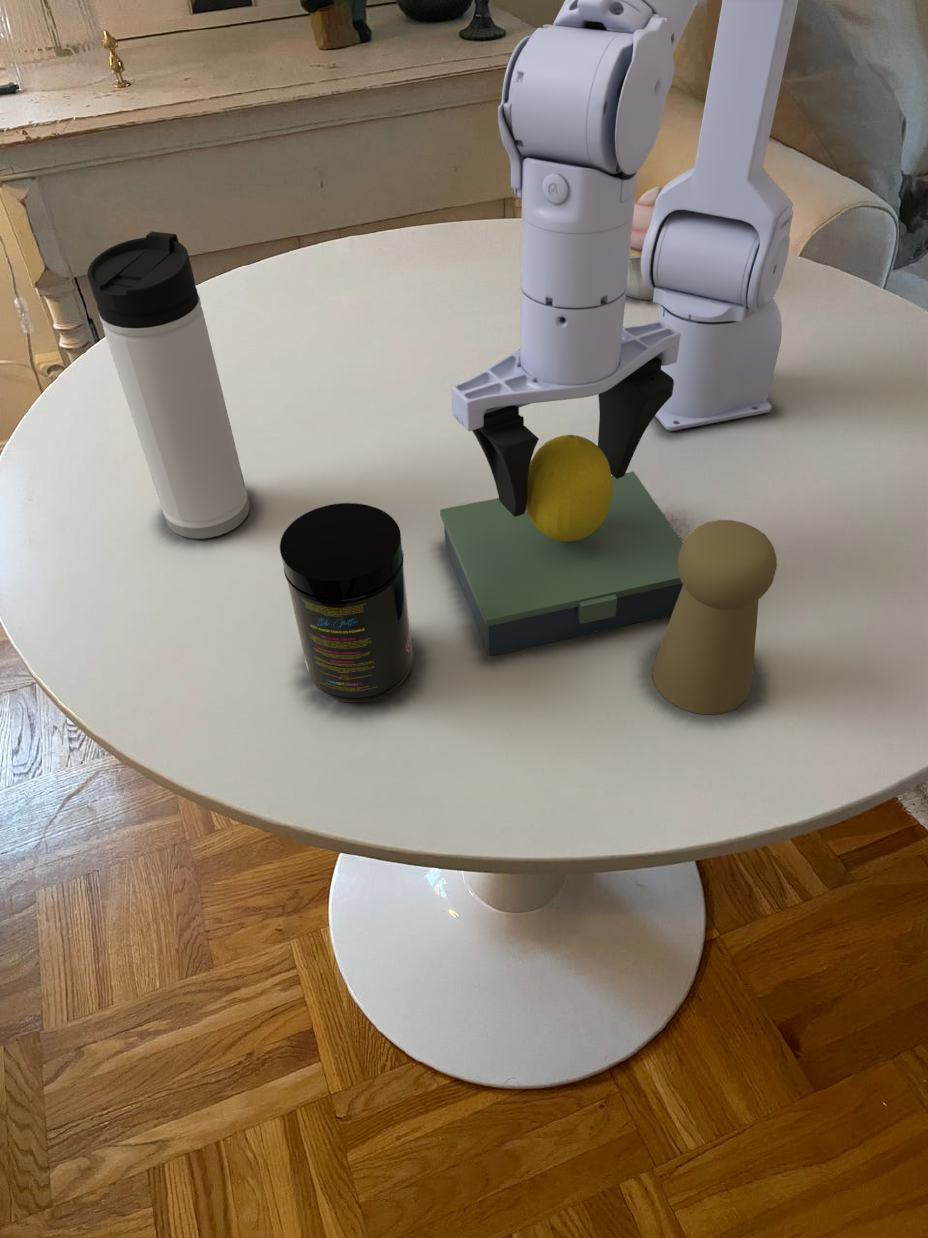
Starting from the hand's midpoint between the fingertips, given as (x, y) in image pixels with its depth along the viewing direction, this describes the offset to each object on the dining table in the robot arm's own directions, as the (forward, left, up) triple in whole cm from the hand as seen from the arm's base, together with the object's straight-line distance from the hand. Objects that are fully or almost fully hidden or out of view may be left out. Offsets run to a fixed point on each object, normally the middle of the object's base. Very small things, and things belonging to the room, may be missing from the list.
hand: (562, 488), depth 60 cm
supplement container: (+15, +5, -7) cm, 17 cm away
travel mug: (+23, -14, -7) cm, 28 cm away
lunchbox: (0, +1, -7) cm, 7 cm away
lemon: (0, +1, -4) cm, 4 cm away
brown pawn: (-5, +12, -7) cm, 15 cm away
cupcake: (-23, -38, -7) cm, 45 cm away
